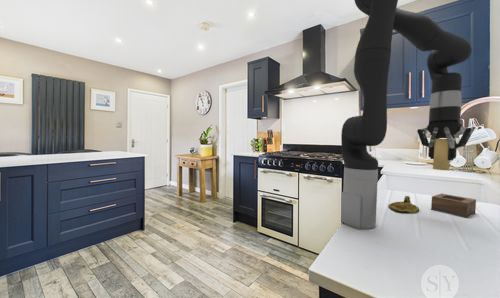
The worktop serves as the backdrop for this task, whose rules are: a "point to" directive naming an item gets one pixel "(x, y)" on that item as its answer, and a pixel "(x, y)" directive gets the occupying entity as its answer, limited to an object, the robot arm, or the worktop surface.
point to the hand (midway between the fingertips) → (441, 159)
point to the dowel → (441, 154)
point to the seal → (404, 206)
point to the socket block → (453, 205)
